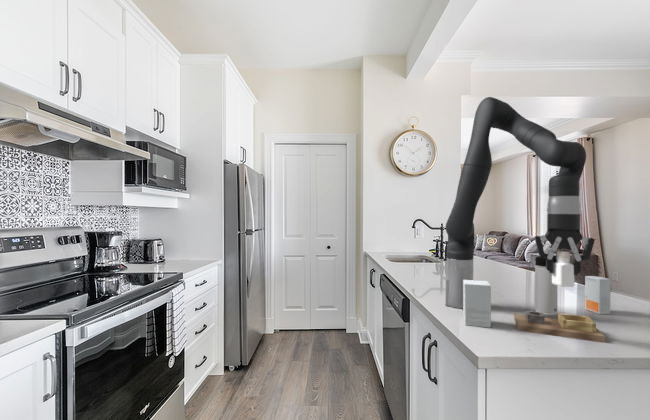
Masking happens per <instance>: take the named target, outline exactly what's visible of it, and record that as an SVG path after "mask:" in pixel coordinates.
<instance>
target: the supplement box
mask: <svg viewBox="0 0 650 420" xmlns="http://www.w3.org/2000/svg"><path fill="white" fill-rule="evenodd" d="M462 310H463V311H462V318H463V322H464V325H465V326H472V327H484V328H491V327H492V286H491V284H490V283H489V281H488V280H474V279H473V280H463V308H462Z"/></svg>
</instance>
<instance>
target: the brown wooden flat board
mask: <svg viewBox="0 0 650 420" xmlns="http://www.w3.org/2000/svg"><path fill="white" fill-rule="evenodd" d="M525 312H526V313H525V314H526V315H525V314H517V313H514V315H513V316H514V322H515V327H516V330H517V331H519V332H520V331H521V332H525V333H526V332H527V333H535V334H541V335H547V336H548V335H549V336H556V337H562V338H570V339H576V340H577V339H578V340H585V341H593V342H598V343H605V342H606V336H605V335H604V334H603V333H602V332H601V331H600V330H599V329H598V328H597V323H596V322H595V321H594V320H593V319H591V317H589V316H588V315H586V316H585V315H579V314H578V315H577V314H570V313H560V312H557V318H545V316H544V314H543V313H541V312H535V311H532V310H525Z"/></svg>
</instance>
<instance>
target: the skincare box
mask: <svg viewBox="0 0 650 420" xmlns="http://www.w3.org/2000/svg"><path fill="white" fill-rule="evenodd" d="M611 281H612V280H611V279H610V278H606V277H601V276H596V275H585V276H584V283H585V284H584V310H587V311H590V312H593V313H595V314H598V315H610V314H611Z"/></svg>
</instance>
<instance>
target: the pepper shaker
mask: <svg viewBox="0 0 650 420" xmlns="http://www.w3.org/2000/svg"><path fill="white" fill-rule="evenodd" d="M555 256H556V262H554V263H553V273H552V284H554V285H557V287H561V288H565V287H566V288H567V287H568V288H569V287H570V288H572V287H574V286H575V275H574V265H573V263H570V260H571V251H567V250H565V251H564V250H556V252H555Z"/></svg>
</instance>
